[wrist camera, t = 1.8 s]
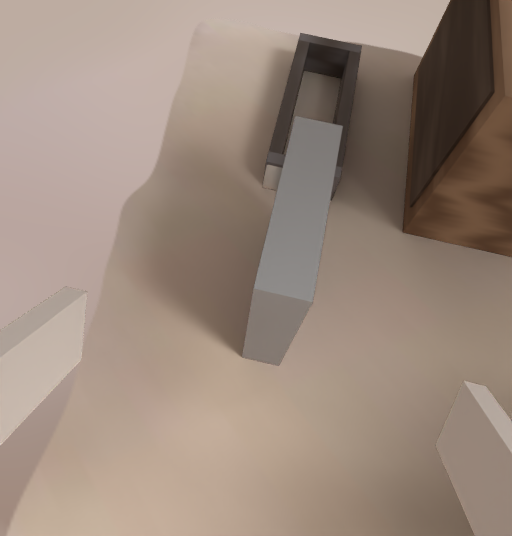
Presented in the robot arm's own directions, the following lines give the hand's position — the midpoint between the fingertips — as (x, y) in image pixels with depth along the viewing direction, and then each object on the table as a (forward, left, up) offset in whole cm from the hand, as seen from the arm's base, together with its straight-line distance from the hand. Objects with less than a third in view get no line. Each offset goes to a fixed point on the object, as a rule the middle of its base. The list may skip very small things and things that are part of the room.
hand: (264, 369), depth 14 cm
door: (-5, -10, -19) cm, 22 cm away
